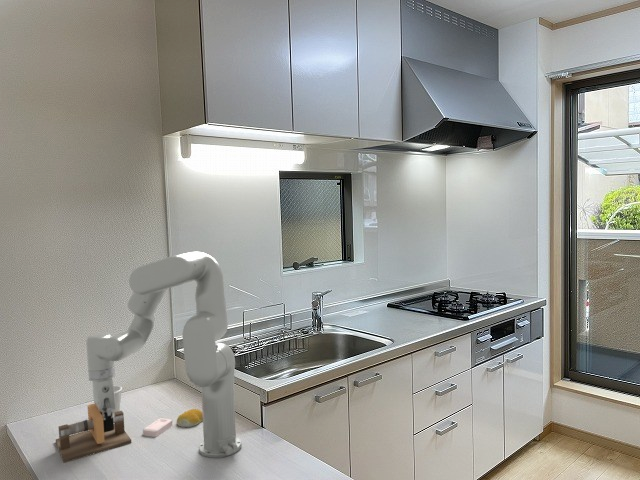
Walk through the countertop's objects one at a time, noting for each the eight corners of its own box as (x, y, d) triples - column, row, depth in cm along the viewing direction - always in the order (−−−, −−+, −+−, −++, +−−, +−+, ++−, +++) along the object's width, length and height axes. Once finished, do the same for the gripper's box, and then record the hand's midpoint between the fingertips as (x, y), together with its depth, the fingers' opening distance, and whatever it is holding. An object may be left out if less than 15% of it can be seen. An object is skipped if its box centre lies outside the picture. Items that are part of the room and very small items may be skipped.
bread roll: (208, 418, 172) (207, 406, 172) (193, 429, 164) (192, 417, 163) (187, 415, 175) (187, 404, 174) (172, 426, 166) (171, 414, 166)
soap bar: (142, 436, 160) (141, 428, 160) (159, 424, 169) (159, 417, 169) (156, 438, 158) (156, 430, 158) (173, 425, 167) (172, 418, 167)
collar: (104, 442, 152) (102, 416, 151) (97, 444, 150) (95, 418, 150) (95, 427, 162) (94, 403, 162) (89, 429, 161) (87, 405, 161)
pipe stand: (131, 442, 155) (130, 419, 154) (63, 462, 144) (62, 437, 143) (118, 425, 168) (117, 403, 167) (55, 442, 157) (54, 418, 156)
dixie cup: (114, 423, 170) (112, 394, 169) (92, 421, 172) (90, 393, 171) (128, 413, 178) (126, 385, 177) (107, 411, 180) (105, 384, 179)
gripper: (120, 377, 152) (124, 431, 153) (108, 364, 166) (111, 413, 167) (94, 383, 147) (97, 439, 149) (83, 368, 162) (86, 419, 163)
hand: (104, 425), depth 158 cm, fingers open, 9 cm apart
